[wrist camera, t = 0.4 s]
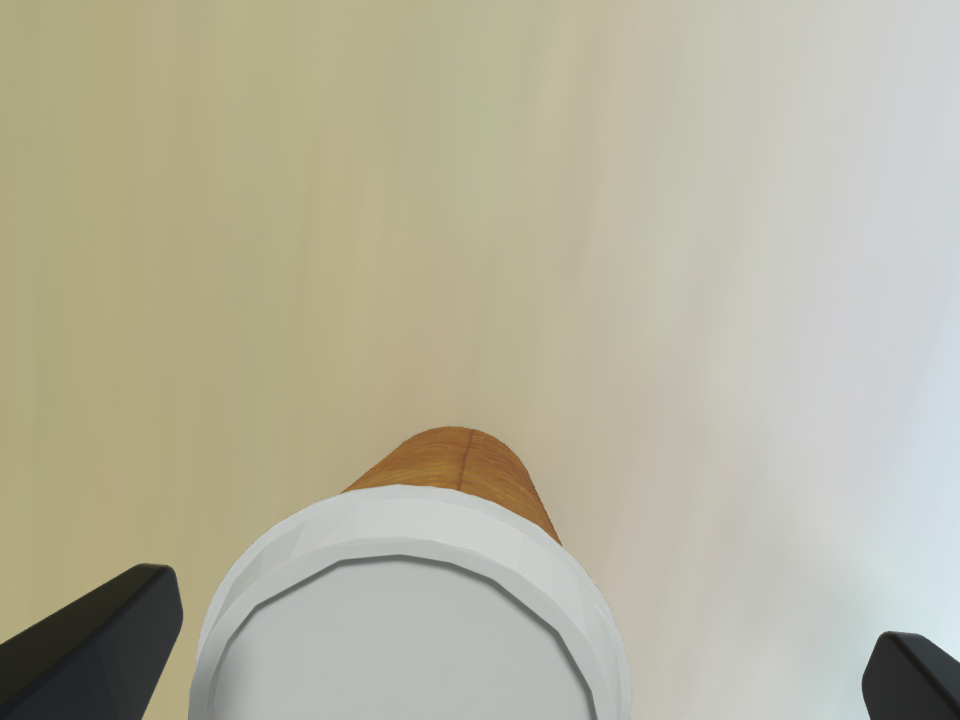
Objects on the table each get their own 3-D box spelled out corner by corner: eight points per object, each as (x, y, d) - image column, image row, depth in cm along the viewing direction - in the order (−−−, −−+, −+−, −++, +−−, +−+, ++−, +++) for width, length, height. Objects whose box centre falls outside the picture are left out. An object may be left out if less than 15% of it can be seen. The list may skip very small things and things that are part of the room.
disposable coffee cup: (472, 662, 25) (438, 1021, 13) (285, 517, 24) (74, 757, 13) (629, 490, 24) (749, 722, 12) (435, 332, 23) (355, 408, 11)
